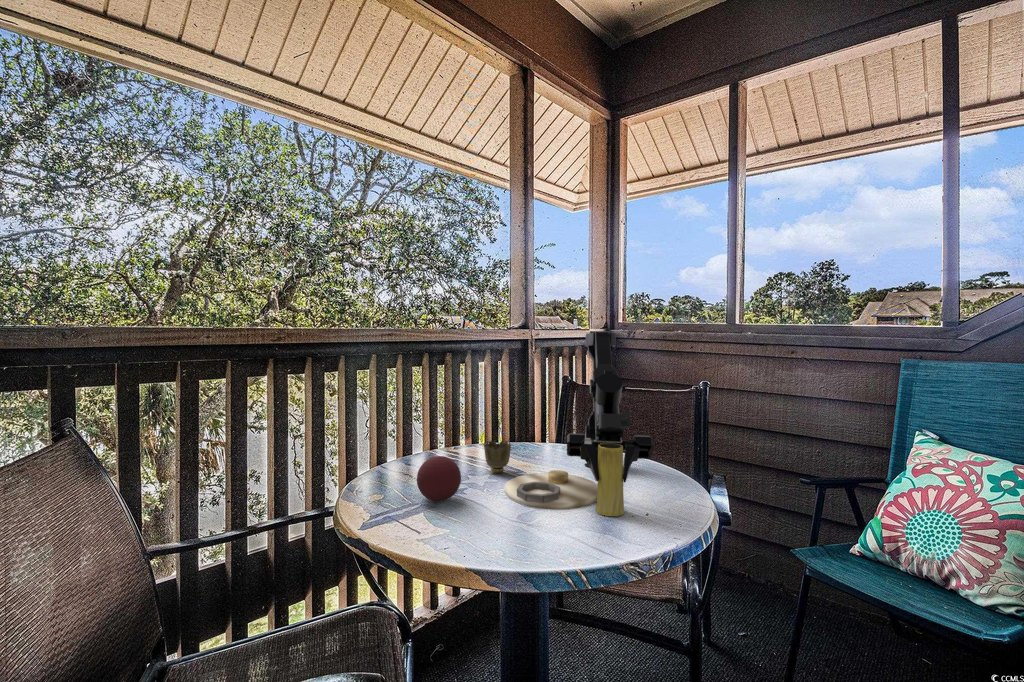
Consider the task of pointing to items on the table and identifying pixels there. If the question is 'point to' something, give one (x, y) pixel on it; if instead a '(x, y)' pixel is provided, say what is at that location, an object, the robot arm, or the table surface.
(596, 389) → the robot arm
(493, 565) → the table surface
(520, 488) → the disc
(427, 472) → the decorative ball
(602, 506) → the vase
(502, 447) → the cup
